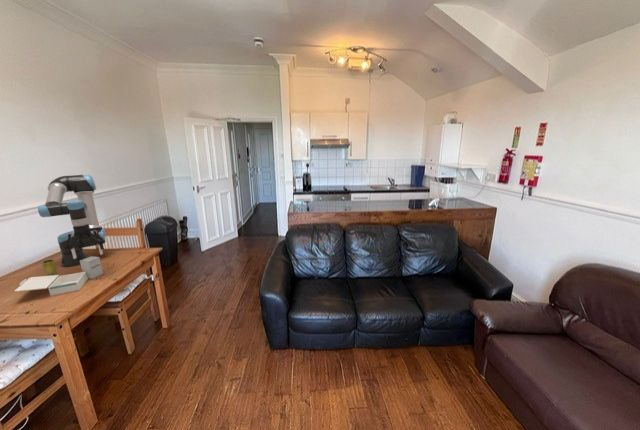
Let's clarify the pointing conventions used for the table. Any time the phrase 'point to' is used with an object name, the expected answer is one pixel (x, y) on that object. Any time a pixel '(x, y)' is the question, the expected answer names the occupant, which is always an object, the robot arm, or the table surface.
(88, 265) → the supplement box
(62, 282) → the box
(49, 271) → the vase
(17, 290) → the lid
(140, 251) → the table surface
